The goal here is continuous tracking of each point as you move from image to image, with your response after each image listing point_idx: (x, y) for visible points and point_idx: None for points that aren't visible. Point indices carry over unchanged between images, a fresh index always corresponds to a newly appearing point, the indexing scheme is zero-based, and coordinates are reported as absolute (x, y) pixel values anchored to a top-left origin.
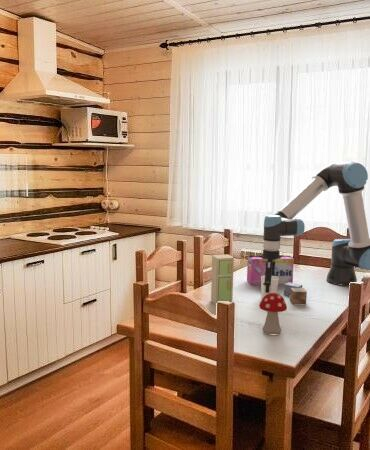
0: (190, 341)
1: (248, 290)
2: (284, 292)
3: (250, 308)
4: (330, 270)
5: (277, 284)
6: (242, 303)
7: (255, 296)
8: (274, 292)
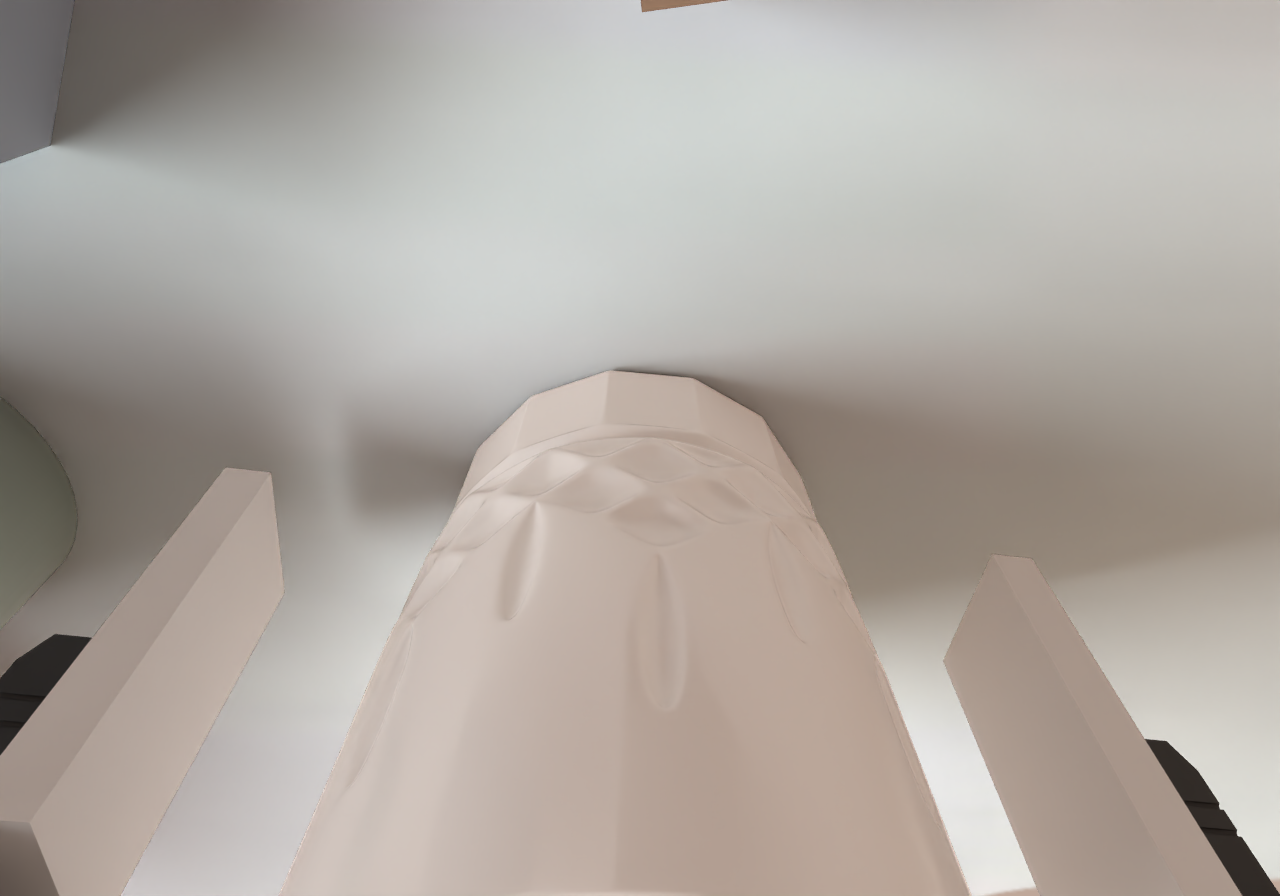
0: None
1: (204, 810)
2: (18, 134)
3: (1275, 775)
4: None
5: (773, 671)
6: (998, 860)
7: None
8: (824, 551)
